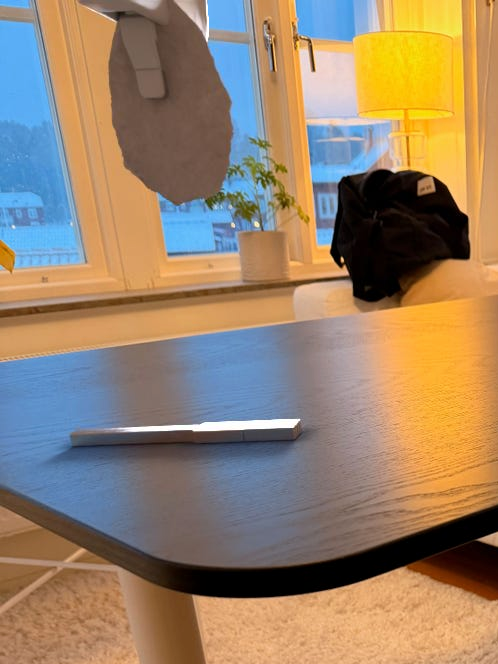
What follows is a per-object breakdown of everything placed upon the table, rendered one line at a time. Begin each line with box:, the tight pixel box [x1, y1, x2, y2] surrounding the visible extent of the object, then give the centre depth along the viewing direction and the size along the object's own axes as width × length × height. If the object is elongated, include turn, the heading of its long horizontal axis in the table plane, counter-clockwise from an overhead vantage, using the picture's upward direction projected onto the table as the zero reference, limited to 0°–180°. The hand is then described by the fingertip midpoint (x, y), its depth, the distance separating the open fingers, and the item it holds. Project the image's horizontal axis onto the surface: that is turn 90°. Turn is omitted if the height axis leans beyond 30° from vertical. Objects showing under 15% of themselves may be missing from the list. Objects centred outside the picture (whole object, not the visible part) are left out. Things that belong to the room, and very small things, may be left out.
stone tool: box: [107, 0, 235, 207], centre depth 68 cm, size 9×3×15 cm, turn 105°
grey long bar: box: [69, 418, 302, 447], centre depth 70 cm, size 18×3×1 cm, turn 90°
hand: (162, 101), depth 68 cm, fingers closed on stone tool, 2 cm apart
